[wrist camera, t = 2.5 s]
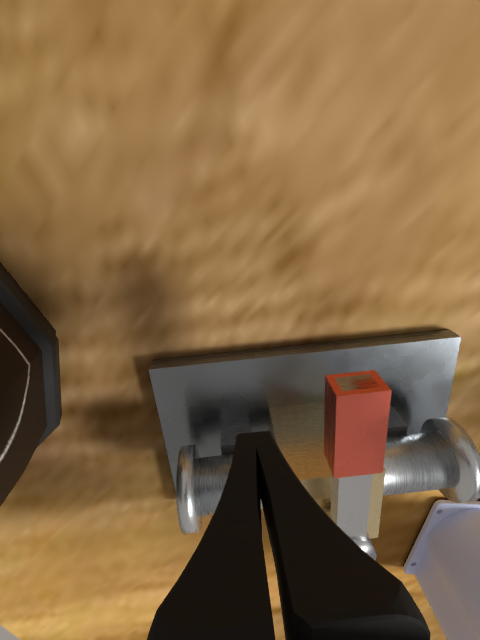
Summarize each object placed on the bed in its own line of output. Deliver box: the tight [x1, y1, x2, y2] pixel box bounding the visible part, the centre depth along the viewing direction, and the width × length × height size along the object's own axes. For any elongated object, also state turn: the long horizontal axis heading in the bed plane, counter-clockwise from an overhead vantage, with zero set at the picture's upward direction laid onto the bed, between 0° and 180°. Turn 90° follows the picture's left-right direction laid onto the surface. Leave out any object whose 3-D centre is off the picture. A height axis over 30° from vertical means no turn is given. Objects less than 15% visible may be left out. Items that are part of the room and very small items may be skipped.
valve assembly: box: [149, 329, 480, 539], centre depth 21 cm, size 20×13×8 cm, turn 95°
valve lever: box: [324, 370, 392, 560], centre depth 15 cm, size 11×2×1 cm, turn 5°
